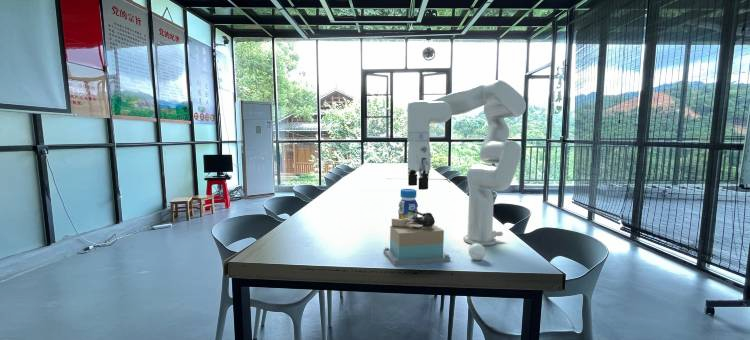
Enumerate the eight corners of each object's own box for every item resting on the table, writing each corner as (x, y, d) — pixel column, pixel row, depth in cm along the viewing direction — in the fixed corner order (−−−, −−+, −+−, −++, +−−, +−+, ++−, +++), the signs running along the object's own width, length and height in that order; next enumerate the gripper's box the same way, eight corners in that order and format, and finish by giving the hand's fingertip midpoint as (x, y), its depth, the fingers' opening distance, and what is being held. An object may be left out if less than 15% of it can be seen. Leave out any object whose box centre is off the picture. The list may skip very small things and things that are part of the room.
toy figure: (393, 230, 110) (436, 228, 110) (392, 212, 110) (435, 210, 111) (391, 227, 117) (432, 225, 118) (390, 210, 118) (431, 208, 118)
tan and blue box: (434, 248, 123) (434, 222, 122) (450, 260, 110) (451, 231, 109) (383, 252, 118) (383, 225, 117) (394, 265, 105) (394, 235, 104)
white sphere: (465, 259, 111) (466, 244, 110) (472, 255, 115) (472, 240, 115) (487, 265, 106) (488, 248, 106) (493, 260, 110) (494, 244, 110)
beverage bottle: (398, 232, 144) (399, 188, 142) (417, 233, 143) (418, 188, 141) (397, 238, 135) (397, 190, 134) (417, 239, 134) (418, 191, 132)
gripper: (439, 137, 103) (438, 190, 104) (418, 137, 120) (418, 183, 121) (417, 137, 101) (417, 191, 103) (399, 137, 118) (399, 184, 119)
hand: (417, 187), depth 112 cm, fingers open, 9 cm apart
